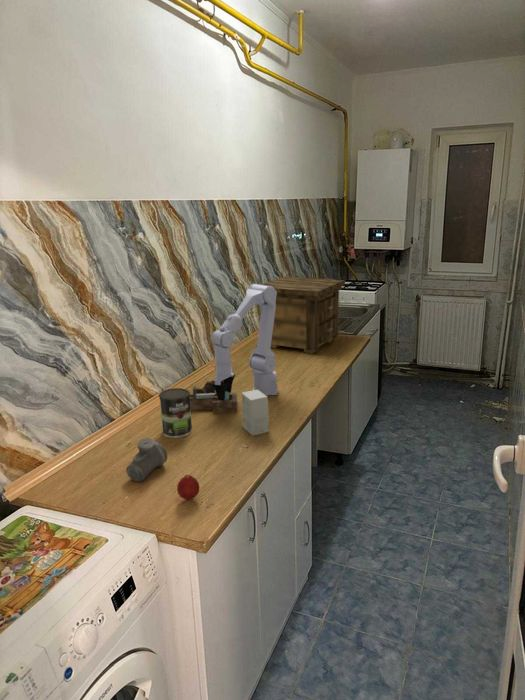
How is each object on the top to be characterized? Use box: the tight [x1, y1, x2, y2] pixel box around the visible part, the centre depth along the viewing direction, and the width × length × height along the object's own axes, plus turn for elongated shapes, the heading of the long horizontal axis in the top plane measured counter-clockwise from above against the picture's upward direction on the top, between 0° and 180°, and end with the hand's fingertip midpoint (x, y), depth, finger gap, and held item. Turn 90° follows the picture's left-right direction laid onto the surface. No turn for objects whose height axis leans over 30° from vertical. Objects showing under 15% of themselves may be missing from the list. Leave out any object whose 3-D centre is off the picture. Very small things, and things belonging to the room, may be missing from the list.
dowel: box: [220, 391, 229, 401], centre depth 195 cm, size 4×4×6 cm
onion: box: [176, 473, 200, 502], centre depth 136 cm, size 6×6×8 cm
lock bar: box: [192, 385, 216, 400], centre depth 193 cm, size 8×3×4 cm, turn 92°
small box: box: [241, 389, 270, 437], centre depth 175 cm, size 8×6×13 cm
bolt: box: [196, 380, 216, 394], centre depth 208 cm, size 6×5×15 cm
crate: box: [260, 275, 346, 354], centre depth 269 cm, size 35×35×33 cm
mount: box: [190, 392, 238, 414], centre depth 195 cm, size 18×9×5 cm, turn 92°
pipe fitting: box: [125, 437, 168, 483], centre depth 150 cm, size 12×8×10 cm
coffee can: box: [158, 387, 193, 439], centre depth 175 cm, size 10×10×14 cm
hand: (224, 396), depth 194 cm, fingers open, 7 cm apart
